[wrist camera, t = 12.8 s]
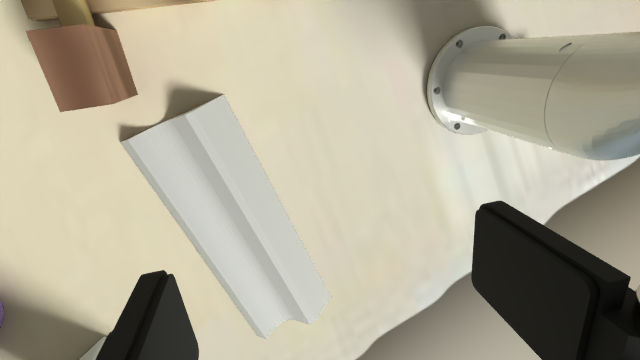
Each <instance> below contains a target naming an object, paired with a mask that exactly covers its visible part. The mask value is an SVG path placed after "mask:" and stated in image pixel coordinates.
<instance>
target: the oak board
mask: <svg viewBox="0 0 640 360" xmlns="http://www.w3.org/2000/svg"><path fill="white" fill-rule="evenodd" d="M86 1H87V4H88V7H89V9H90V12H91V15H92V14H101V13H110V12H118V11H127V10H136V9H145V8H153V7H162V6H171V5H179V4H188V3H197V2H206V1H214V0H86ZM21 2H22V4H23V7H24V9H25V11H26V14H27V16H28V19H31V20H37V21H40V20H49V19H58V15H57V13H56V10H55V7H54V5H53V2H52V0H21Z"/></svg>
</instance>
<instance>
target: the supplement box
mask: <svg viewBox="0 0 640 360" xmlns="http://www.w3.org/2000/svg"><path fill="white" fill-rule="evenodd" d="M106 338H107V337H106V336H104V337H103V338H101V339H100V340H99V341H98V342H97V343H96V344H95V345H94V346H93V347H92V348H91V349H90V350H89V351H88V352H86V353H85V354H84V355H83V356H82V357H81V358H80V359H79V360H95V359H96V357H97V355H98V353H99V351H100V349H101V347H102V345H103V343H104V341H105V339H106Z"/></svg>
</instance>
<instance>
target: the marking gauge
mask: <svg viewBox="0 0 640 360" xmlns="http://www.w3.org/2000/svg"><path fill="white" fill-rule="evenodd" d="M52 2H53V5H54V7H55V10H56V13H57V15H58V18H59V20H60V23H61V26H62V27H56V28H48V29H39V30H31V31H26V33H27V35H28V37H29V40H30V42H31V44H32V47H33V49H34V51H35V54H36V56H37V58H38V61H39V63H40V66H41V68H42V70H43V73H44V75H45V77H46V80H47V82H48V84H49V87H50V89H51V91H52V94H53V96H54V98H55V101H56V103H57V106H58V108H59V110H60V112H64V111H70V110H77V109H83V108H90V107H96V106H103V105H109V104H114V103H117V102H119V101H122V100H125V99H127V98H130V97H133V96H135V95H138V94H137V91H136V88H135V85H134V82H133V78H132V75H131V72H130V69H129V66H128V63H127V60H126V57H125V54H124V51H123V48H122V45H121V42H120V39H119V36H118V33H117V30H113V29H107V28H102V27H97V26H95V24H94V21H93V18H92V15H91V12H90V9H89V7H88V4H87V1H86V0H52Z"/></svg>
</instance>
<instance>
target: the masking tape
mask: <svg viewBox="0 0 640 360" xmlns="http://www.w3.org/2000/svg"><path fill="white" fill-rule="evenodd" d="M3 318H4V308H3V305H2V302H1V300H0V327H1V325H2V323H3Z"/></svg>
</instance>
